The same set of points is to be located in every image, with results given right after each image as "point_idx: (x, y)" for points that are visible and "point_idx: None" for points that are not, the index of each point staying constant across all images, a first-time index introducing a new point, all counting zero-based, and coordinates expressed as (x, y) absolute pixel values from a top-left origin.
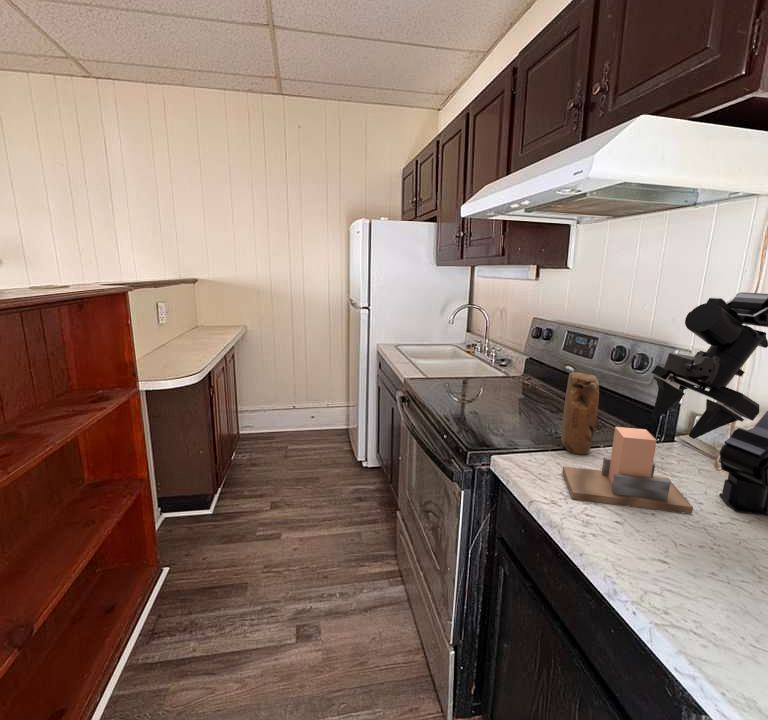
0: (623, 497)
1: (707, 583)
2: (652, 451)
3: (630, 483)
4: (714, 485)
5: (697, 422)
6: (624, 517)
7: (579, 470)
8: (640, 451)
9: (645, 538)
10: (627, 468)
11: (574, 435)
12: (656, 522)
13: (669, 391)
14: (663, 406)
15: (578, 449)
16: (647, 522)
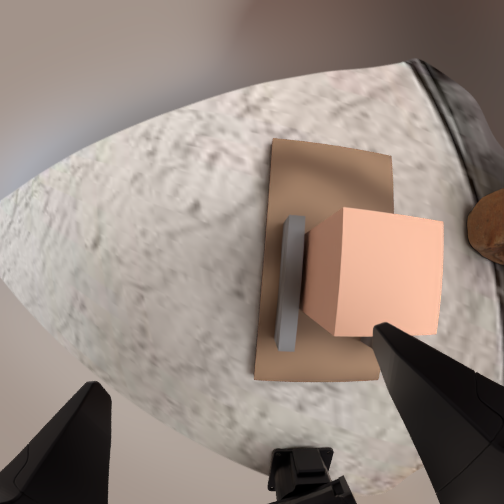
0: (270, 241)
1: (64, 284)
2: (323, 319)
3: (284, 255)
4: (369, 452)
5: (55, 436)
6: (215, 227)
7: (382, 185)
8: (325, 279)
9: (149, 240)
10: (312, 249)
11: (491, 204)
12: (207, 287)
13: (486, 483)
14: (413, 404)
15: (471, 222)
16: (203, 268)
